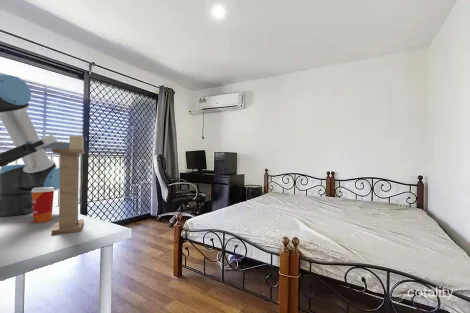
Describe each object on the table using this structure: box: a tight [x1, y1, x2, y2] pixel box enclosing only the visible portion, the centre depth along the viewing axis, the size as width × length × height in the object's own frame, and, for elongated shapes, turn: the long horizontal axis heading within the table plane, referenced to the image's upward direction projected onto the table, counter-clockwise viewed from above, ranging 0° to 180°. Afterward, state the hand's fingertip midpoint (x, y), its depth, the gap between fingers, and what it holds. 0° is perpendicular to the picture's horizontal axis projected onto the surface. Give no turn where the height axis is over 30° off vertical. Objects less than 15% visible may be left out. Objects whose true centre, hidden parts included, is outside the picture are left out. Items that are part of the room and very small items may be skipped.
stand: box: [51, 149, 86, 236], centre depth 85 cm, size 12×8×30 cm
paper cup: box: [31, 187, 55, 224], centre depth 94 cm, size 8×8×14 cm
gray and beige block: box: [26, 135, 85, 150], centre depth 83 cm, size 6×16×5 cm, turn 120°
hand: (54, 138), depth 83 cm, fingers closed on gray and beige block, 3 cm apart
